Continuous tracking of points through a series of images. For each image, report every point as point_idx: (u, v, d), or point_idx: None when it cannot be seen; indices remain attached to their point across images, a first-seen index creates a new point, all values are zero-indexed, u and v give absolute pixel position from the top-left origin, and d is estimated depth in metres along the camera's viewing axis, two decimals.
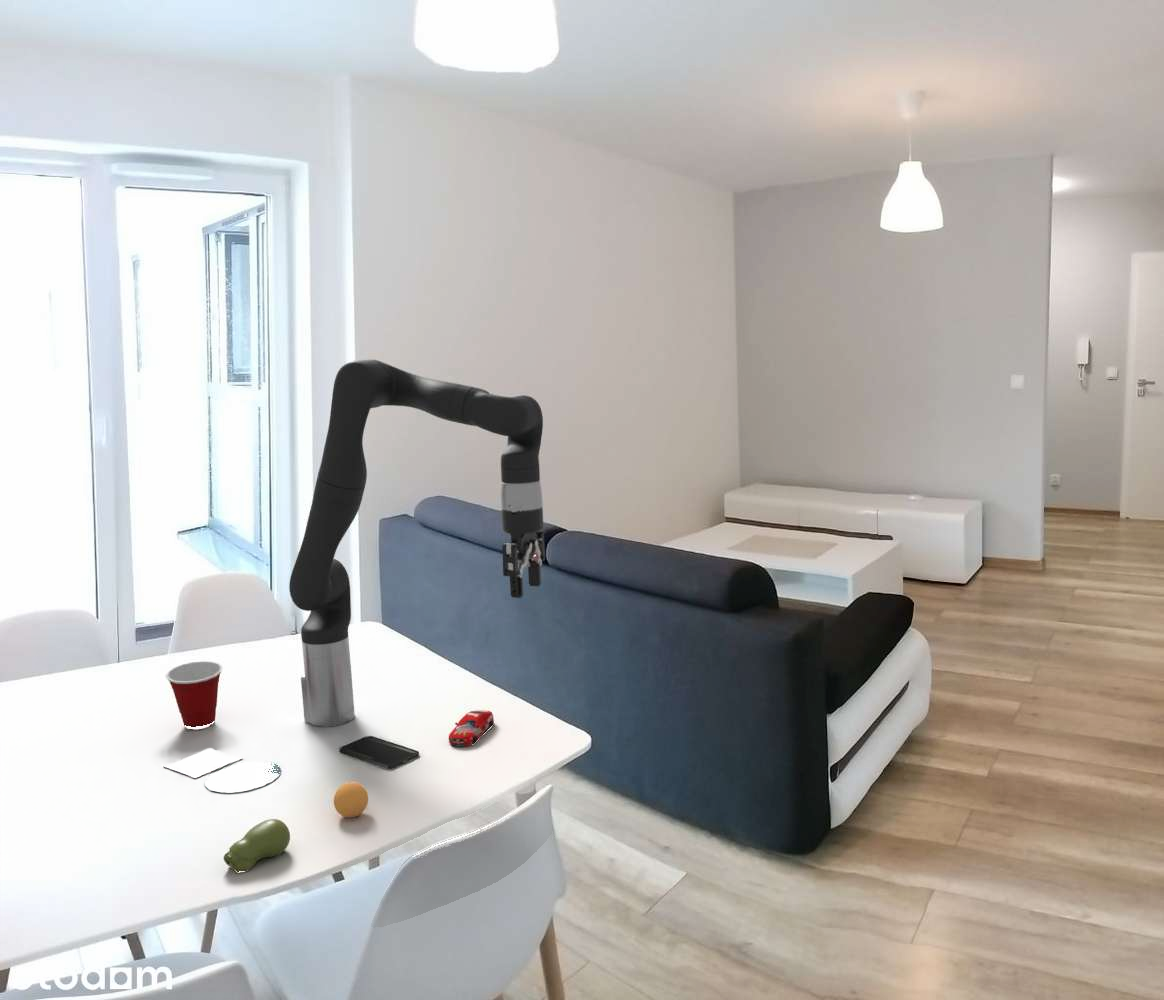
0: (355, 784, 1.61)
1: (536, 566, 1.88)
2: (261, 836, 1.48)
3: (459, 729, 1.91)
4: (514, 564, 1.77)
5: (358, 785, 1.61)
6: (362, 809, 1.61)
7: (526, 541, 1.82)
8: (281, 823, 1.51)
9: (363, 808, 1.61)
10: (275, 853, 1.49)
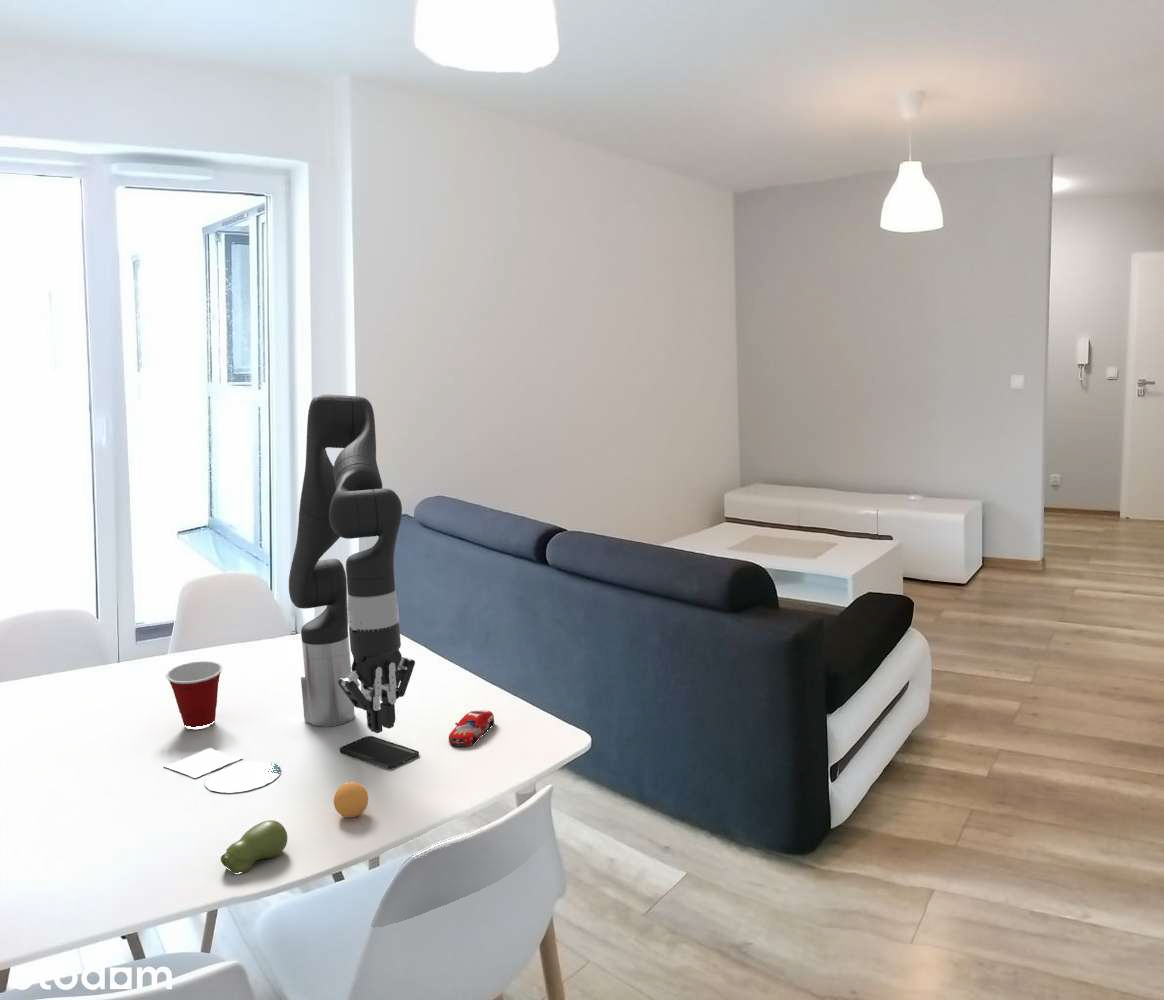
0: (355, 784, 1.61)
1: (387, 704, 1.53)
2: (258, 837, 1.47)
3: (459, 729, 1.90)
4: (358, 701, 1.48)
5: (358, 785, 1.61)
6: (362, 809, 1.61)
7: (374, 664, 1.50)
8: (278, 824, 1.50)
9: (363, 808, 1.61)
10: (272, 854, 1.48)
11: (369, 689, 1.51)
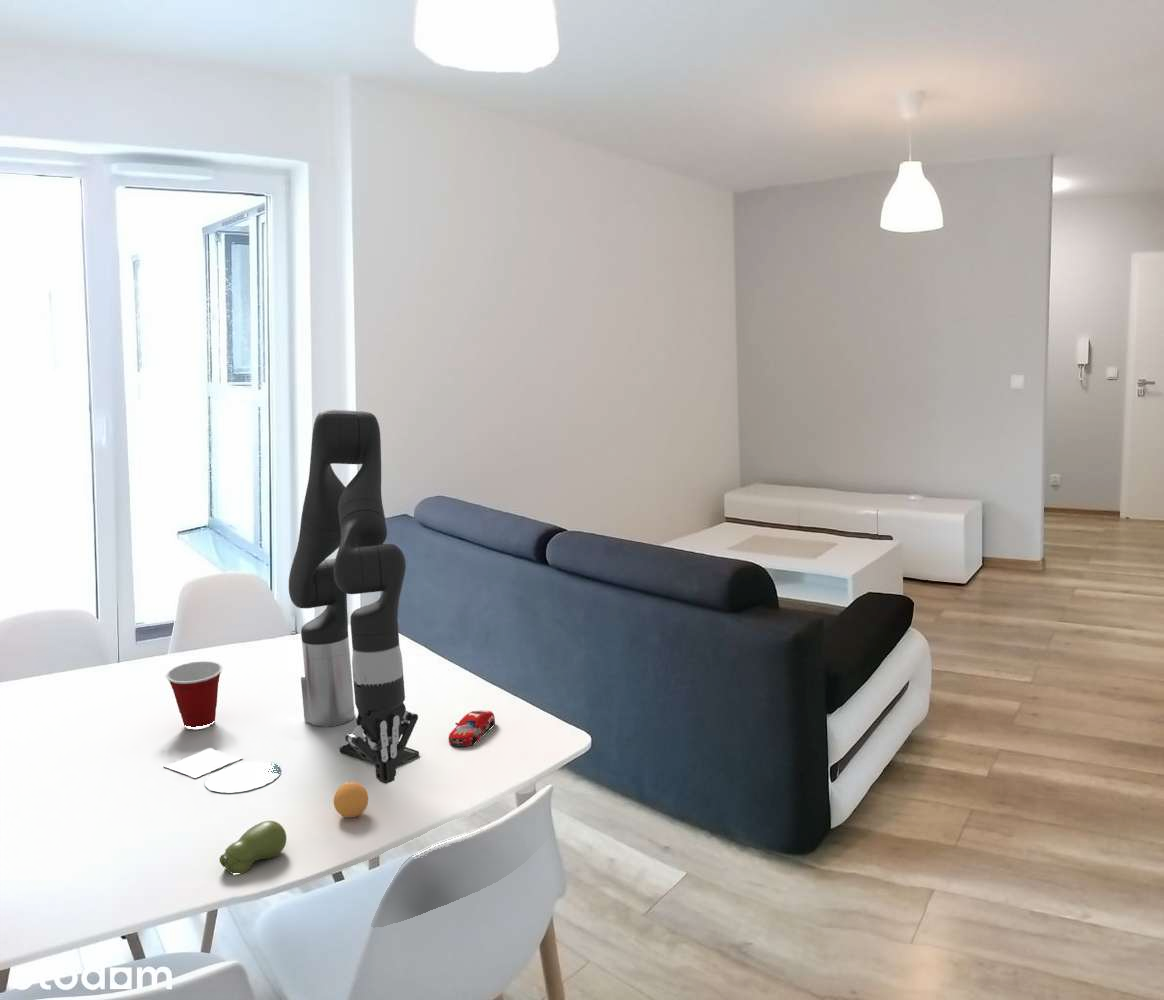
0: (355, 784, 1.61)
1: (388, 758, 1.54)
2: (257, 838, 1.47)
3: (459, 729, 1.90)
4: (366, 755, 1.50)
5: (358, 785, 1.61)
6: (362, 809, 1.61)
7: (379, 718, 1.51)
8: (277, 825, 1.50)
9: (363, 808, 1.61)
10: (271, 855, 1.48)
11: (376, 741, 1.53)
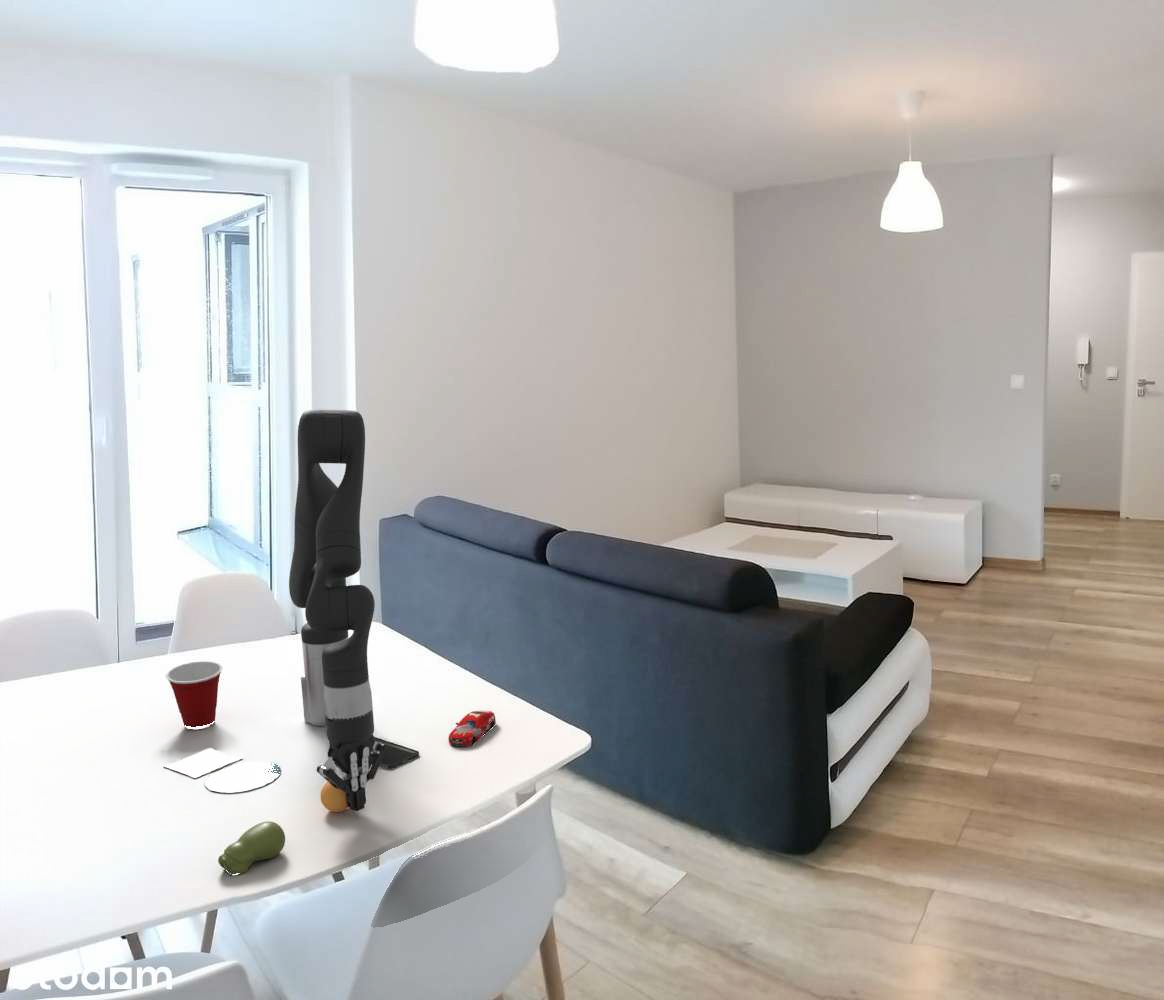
0: None
1: (358, 787, 1.61)
2: (256, 839, 1.47)
3: (459, 729, 1.90)
4: (337, 785, 1.57)
5: None
6: None
7: (349, 750, 1.59)
8: (276, 825, 1.50)
9: None
10: (270, 856, 1.48)
11: (347, 771, 1.60)
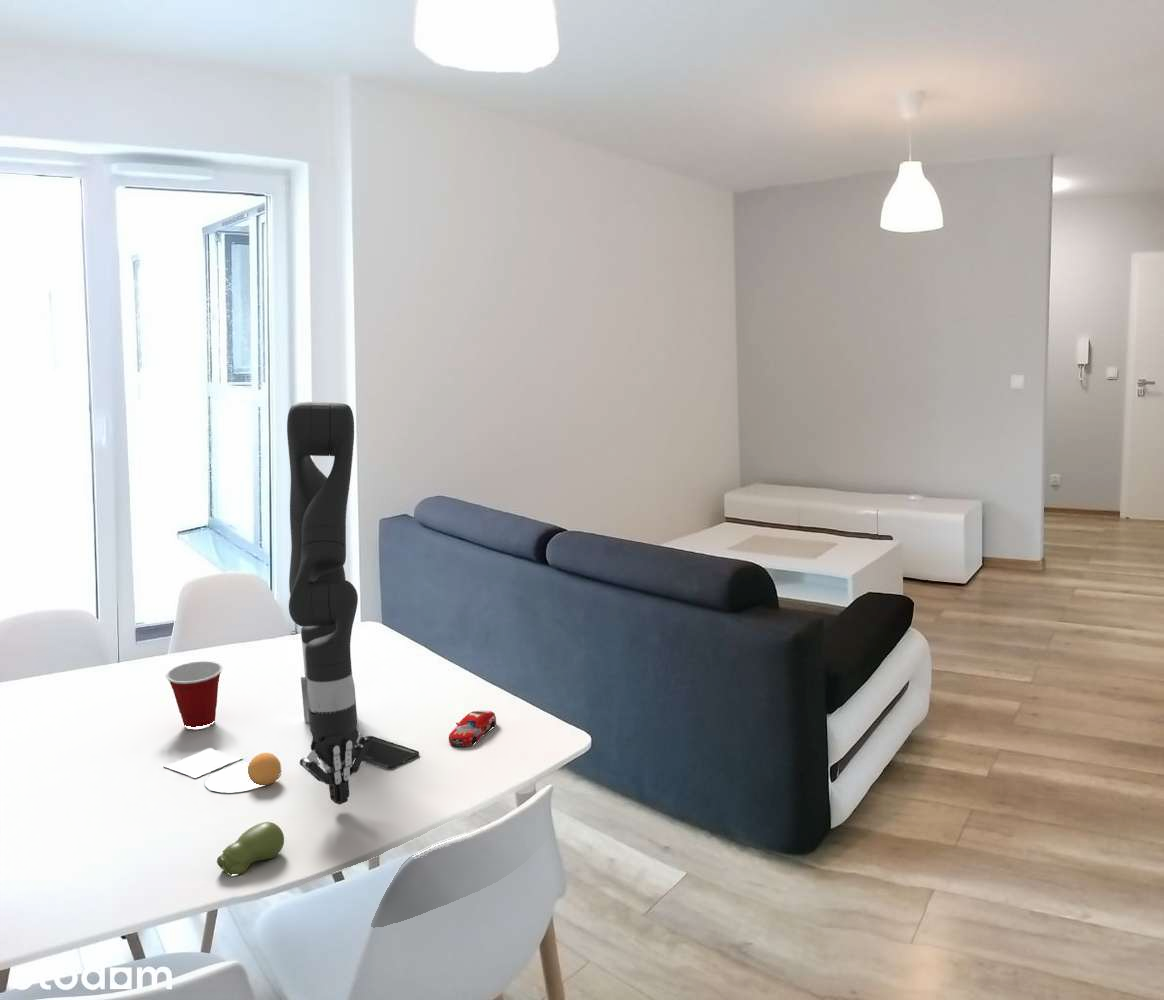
0: None
1: (341, 780, 1.63)
2: (254, 839, 1.47)
3: (459, 729, 1.90)
4: (320, 778, 1.59)
5: None
6: (266, 755, 1.74)
7: (332, 743, 1.60)
8: (275, 826, 1.50)
9: (267, 755, 1.74)
10: (269, 856, 1.48)
11: (330, 764, 1.62)
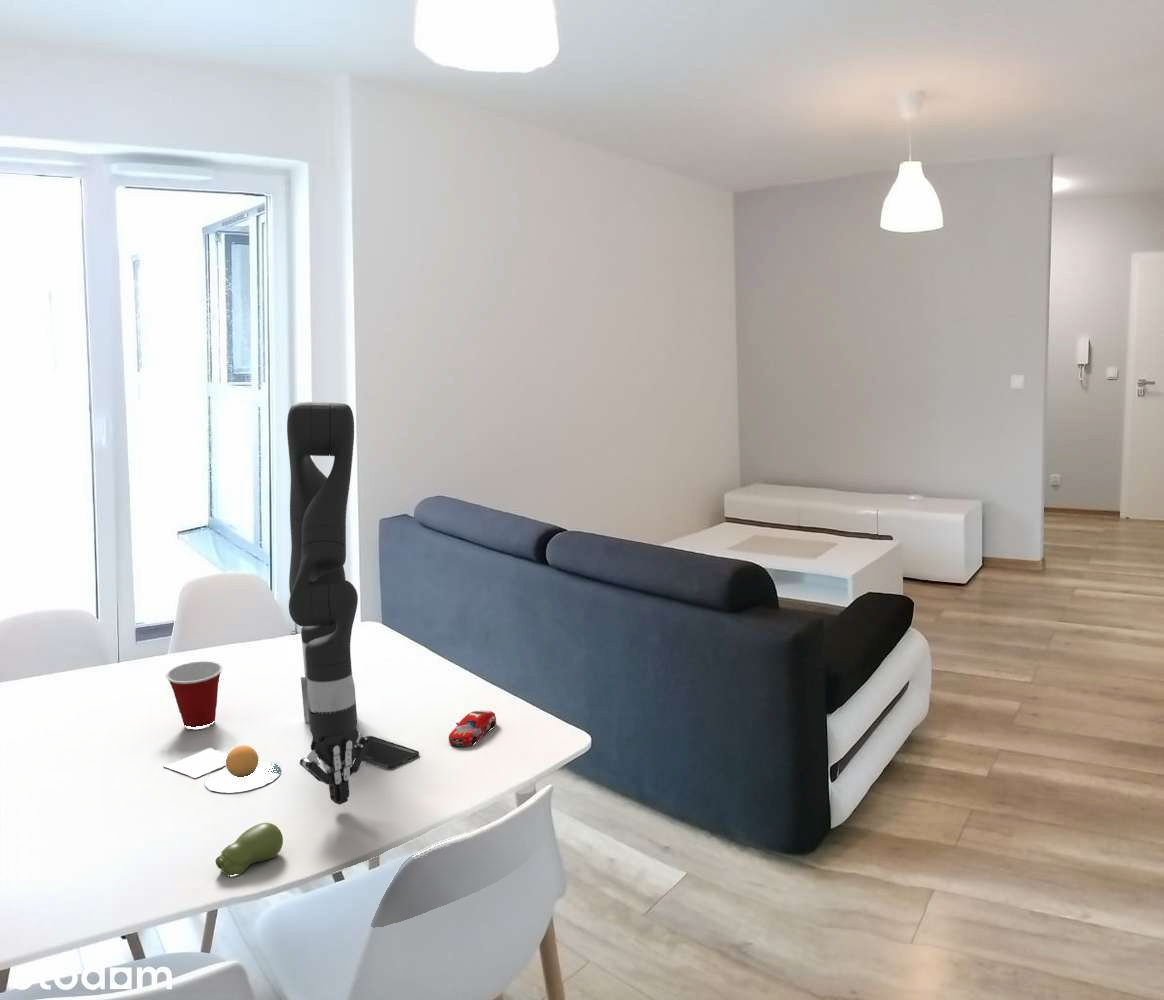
0: None
1: (341, 780, 1.63)
2: (253, 840, 1.46)
3: (459, 729, 1.90)
4: (320, 778, 1.59)
5: None
6: None
7: (332, 743, 1.60)
8: (274, 827, 1.49)
9: None
10: (267, 857, 1.48)
11: (330, 764, 1.62)
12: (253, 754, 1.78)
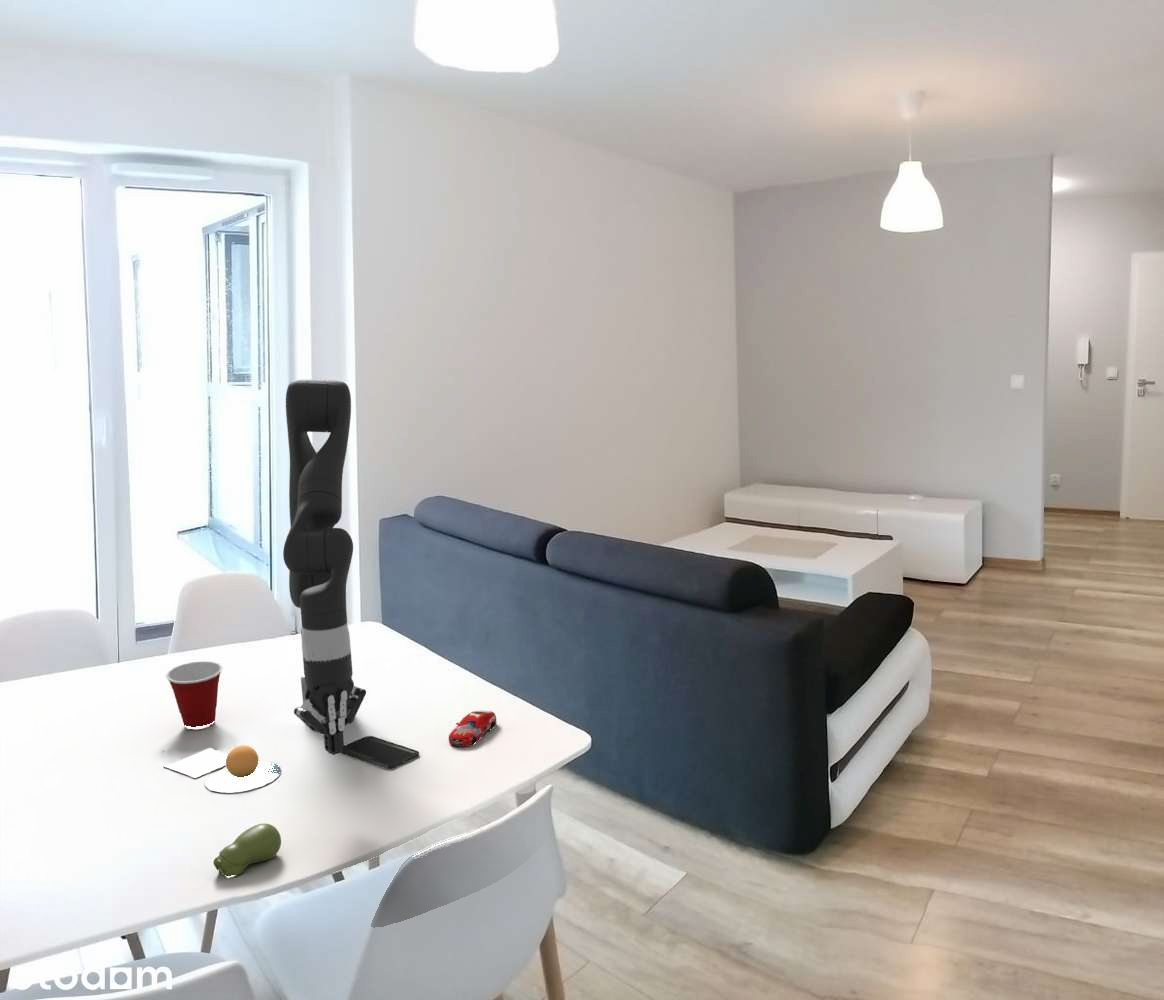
0: None
1: (336, 731, 1.62)
2: (251, 841, 1.46)
3: (459, 729, 1.90)
4: (314, 727, 1.58)
5: None
6: None
7: (327, 693, 1.59)
8: (272, 828, 1.49)
9: None
10: (265, 858, 1.47)
11: (324, 714, 1.61)
12: (253, 754, 1.78)
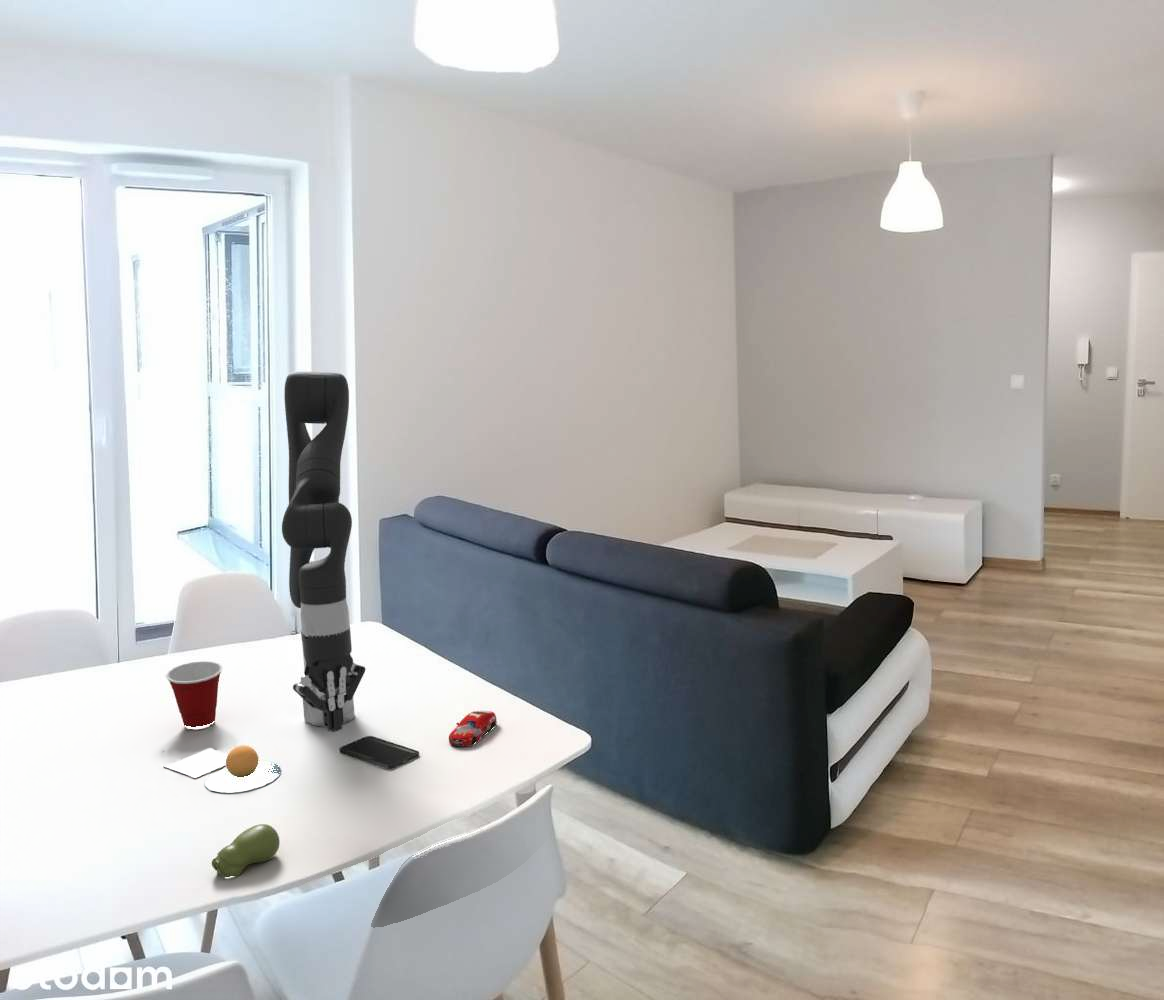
0: None
1: (335, 708, 1.61)
2: (249, 841, 1.46)
3: (459, 729, 1.90)
4: (313, 703, 1.57)
5: None
6: None
7: (326, 669, 1.58)
8: (270, 828, 1.49)
9: None
10: (264, 859, 1.47)
11: (324, 691, 1.60)
12: (253, 754, 1.78)
